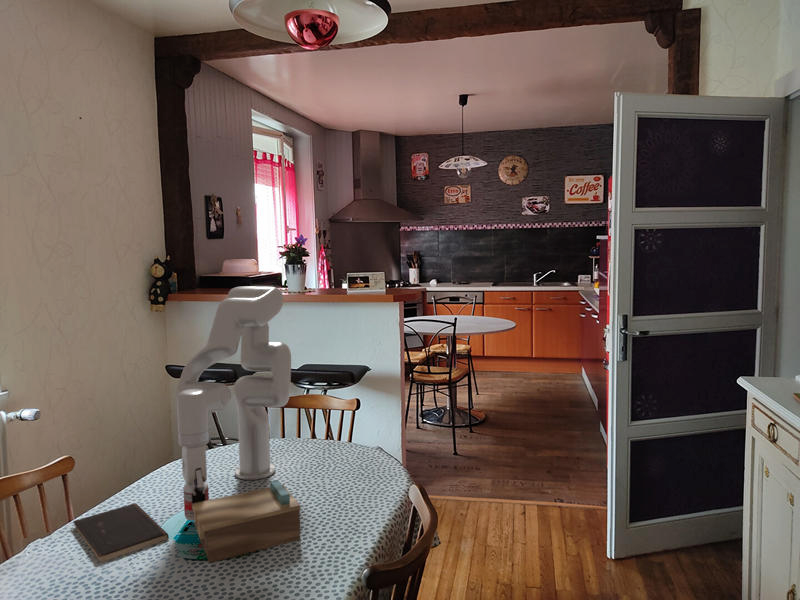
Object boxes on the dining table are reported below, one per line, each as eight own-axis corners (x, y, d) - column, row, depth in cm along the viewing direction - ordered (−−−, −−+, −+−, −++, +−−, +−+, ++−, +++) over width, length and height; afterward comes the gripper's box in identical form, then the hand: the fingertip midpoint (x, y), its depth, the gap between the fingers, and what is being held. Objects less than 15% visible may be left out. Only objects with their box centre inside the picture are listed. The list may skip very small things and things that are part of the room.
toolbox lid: (192, 519, 144) (191, 493, 143) (283, 499, 155) (282, 475, 154) (202, 545, 131) (201, 517, 131) (300, 521, 142) (299, 495, 142)
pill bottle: (207, 508, 156) (206, 469, 155) (211, 518, 151) (209, 477, 149) (183, 513, 153) (181, 473, 152) (185, 523, 148) (184, 482, 147)
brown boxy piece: (199, 538, 144) (197, 507, 143) (284, 517, 155) (283, 489, 154) (208, 563, 133) (207, 530, 132) (300, 539, 143) (299, 508, 143)
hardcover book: (99, 565, 133) (98, 556, 133) (73, 529, 150) (73, 521, 150) (169, 541, 144) (168, 532, 144) (137, 510, 161) (137, 502, 161)
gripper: (174, 430, 156) (177, 494, 157) (183, 450, 141) (186, 520, 142) (203, 425, 159) (205, 488, 161) (215, 444, 144) (218, 513, 146)
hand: (196, 502), depth 152 cm, fingers closed on pill bottle, 6 cm apart
